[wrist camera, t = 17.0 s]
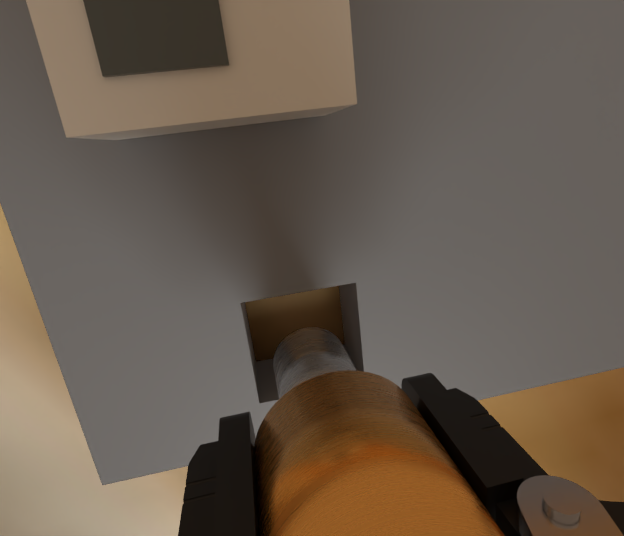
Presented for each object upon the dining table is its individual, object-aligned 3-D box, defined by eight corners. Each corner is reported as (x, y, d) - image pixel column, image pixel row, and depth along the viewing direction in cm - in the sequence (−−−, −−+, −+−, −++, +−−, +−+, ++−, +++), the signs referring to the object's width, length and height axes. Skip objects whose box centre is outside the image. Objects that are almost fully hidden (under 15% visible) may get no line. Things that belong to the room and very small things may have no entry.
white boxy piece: (303, -87, 10) (336, -201, 7) (324, 115, 12) (359, 103, 9) (61, -75, 10) (-37, -198, 6) (116, 139, 11) (63, 137, 8)
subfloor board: (759, -115, 15) (877, -173, 12) (681, 312, 21) (750, 338, 18) (-39, -77, 12) (-127, -148, 9) (124, 429, 17) (102, 485, 14)
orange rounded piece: (367, 297, 13) (553, 507, 5) (367, 403, 14) (519, 696, 7) (242, 311, 12) (254, 571, 5) (253, 420, 13) (276, 768, 6)
